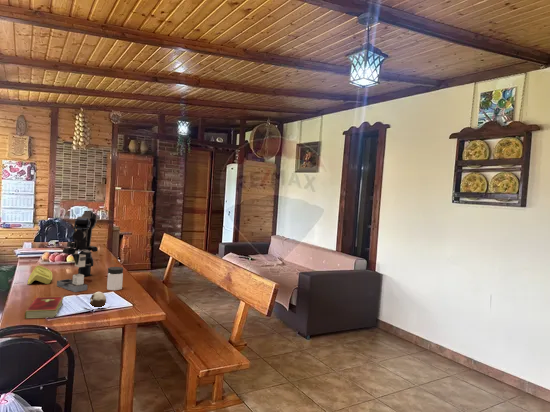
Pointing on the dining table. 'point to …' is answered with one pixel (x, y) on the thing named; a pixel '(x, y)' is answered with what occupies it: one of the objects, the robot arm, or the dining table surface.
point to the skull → (98, 299)
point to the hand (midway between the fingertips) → (80, 264)
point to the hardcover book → (44, 307)
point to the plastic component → (40, 275)
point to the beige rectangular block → (81, 261)
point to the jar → (115, 278)
